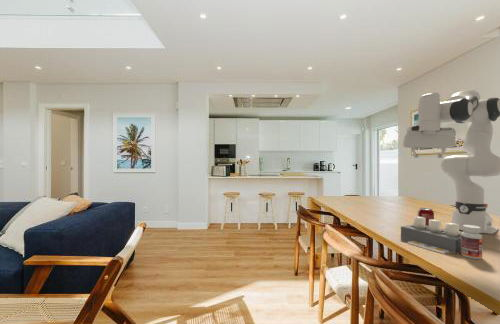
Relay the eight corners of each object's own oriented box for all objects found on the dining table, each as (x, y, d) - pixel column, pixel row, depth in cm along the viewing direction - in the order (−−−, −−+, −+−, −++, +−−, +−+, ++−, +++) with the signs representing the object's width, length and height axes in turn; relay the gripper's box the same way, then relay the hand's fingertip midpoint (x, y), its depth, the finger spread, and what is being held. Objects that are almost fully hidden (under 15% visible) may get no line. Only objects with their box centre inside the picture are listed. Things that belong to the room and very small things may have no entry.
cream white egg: (432, 232, 117) (432, 219, 117) (443, 235, 113) (443, 221, 113) (426, 233, 115) (426, 219, 115) (437, 236, 111) (437, 222, 111)
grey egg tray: (418, 234, 127) (418, 223, 127) (473, 249, 107) (473, 235, 107) (400, 238, 121) (400, 226, 121) (455, 253, 101) (455, 239, 101)
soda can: (436, 235, 127) (436, 210, 127) (420, 234, 128) (421, 209, 128) (429, 231, 133) (430, 207, 133) (415, 230, 135) (415, 207, 135)
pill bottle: (483, 260, 94) (484, 229, 94) (462, 257, 98) (462, 226, 98) (480, 255, 100) (480, 225, 100) (459, 252, 103) (460, 223, 103)
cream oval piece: (417, 229, 123) (417, 216, 123) (427, 231, 119) (427, 218, 119) (411, 230, 121) (411, 217, 121) (421, 232, 117) (421, 219, 117)
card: (413, 242, 115) (413, 240, 115) (449, 252, 103) (449, 250, 103) (407, 243, 114) (407, 241, 114) (443, 253, 101) (443, 251, 101)
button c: (448, 236, 111) (449, 222, 111) (460, 239, 107) (461, 224, 107) (442, 237, 109) (443, 223, 109) (454, 240, 105) (455, 225, 105)
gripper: (453, 128, 121) (452, 158, 121) (402, 129, 129) (402, 157, 129) (458, 126, 116) (457, 157, 115) (404, 127, 123) (404, 157, 123)
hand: (427, 157), depth 122 cm, fingers open, 8 cm apart
